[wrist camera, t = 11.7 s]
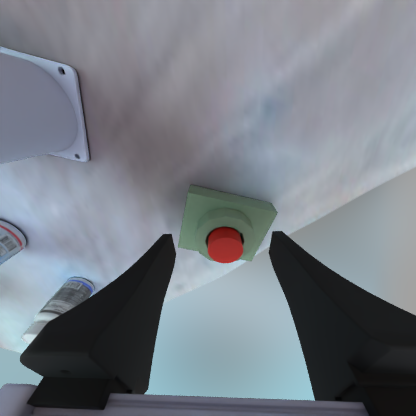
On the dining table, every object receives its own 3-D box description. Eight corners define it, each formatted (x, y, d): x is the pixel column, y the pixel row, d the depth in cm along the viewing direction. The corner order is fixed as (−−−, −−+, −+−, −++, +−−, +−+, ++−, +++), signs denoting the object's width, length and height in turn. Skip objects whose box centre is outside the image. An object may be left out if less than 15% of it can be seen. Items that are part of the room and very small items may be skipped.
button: (205, 248, 18) (204, 259, 17) (212, 223, 16) (212, 234, 15) (234, 253, 19) (236, 265, 17) (245, 230, 17) (248, 241, 15)
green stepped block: (180, 236, 22) (174, 258, 19) (190, 184, 18) (185, 200, 15) (248, 249, 23) (254, 273, 20) (271, 203, 19) (284, 222, 16)
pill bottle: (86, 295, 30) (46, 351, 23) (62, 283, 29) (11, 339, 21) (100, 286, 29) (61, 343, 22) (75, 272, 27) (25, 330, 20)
